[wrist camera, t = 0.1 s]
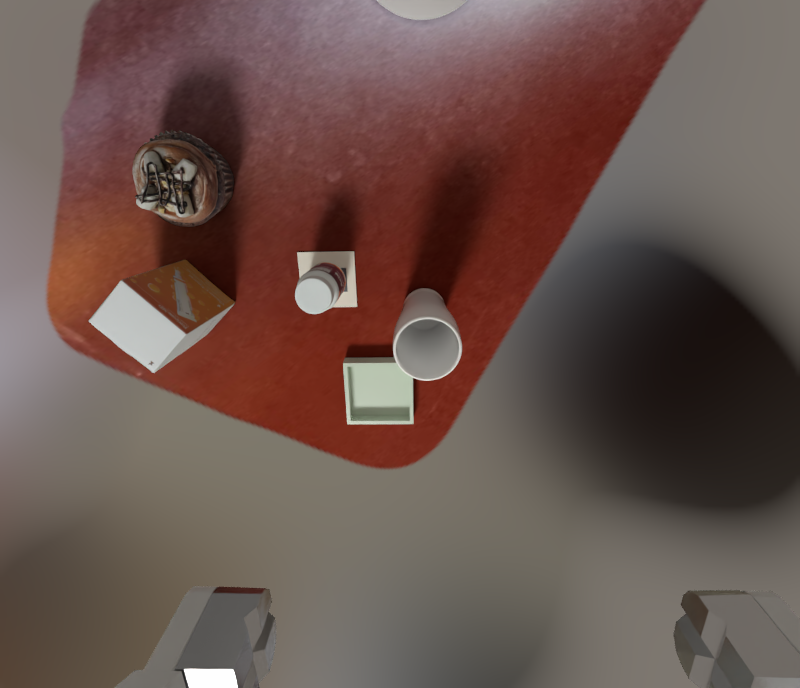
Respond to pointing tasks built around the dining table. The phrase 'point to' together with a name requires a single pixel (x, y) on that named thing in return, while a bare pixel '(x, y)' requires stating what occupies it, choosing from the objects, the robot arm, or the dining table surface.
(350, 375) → the sage tray
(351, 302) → the coaster
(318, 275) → the pill bottle
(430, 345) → the drinking glass
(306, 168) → the dining table surface
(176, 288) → the small box
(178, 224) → the cupcake
